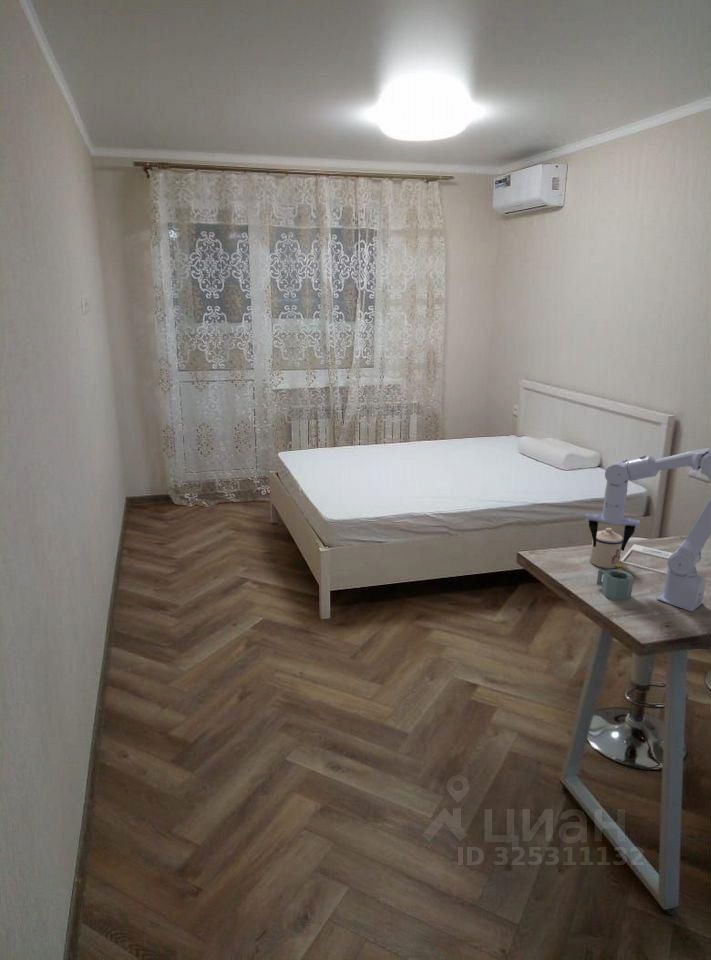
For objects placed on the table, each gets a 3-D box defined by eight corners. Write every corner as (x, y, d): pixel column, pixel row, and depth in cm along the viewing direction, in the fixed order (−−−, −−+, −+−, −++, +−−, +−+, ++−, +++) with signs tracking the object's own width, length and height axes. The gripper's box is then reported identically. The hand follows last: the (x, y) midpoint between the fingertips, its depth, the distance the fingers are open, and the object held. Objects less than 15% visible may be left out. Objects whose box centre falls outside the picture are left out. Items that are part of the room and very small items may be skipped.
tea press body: (634, 595, 181) (637, 575, 179) (622, 602, 176) (625, 583, 174) (602, 583, 187) (605, 565, 185) (590, 591, 182) (593, 571, 181)
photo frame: (681, 554, 208) (670, 573, 194) (680, 557, 208) (669, 576, 194) (634, 543, 216) (619, 560, 202) (633, 546, 216) (619, 563, 202)
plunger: (627, 581, 180) (629, 563, 178) (621, 584, 177) (624, 567, 176) (614, 576, 182) (617, 559, 181) (608, 580, 180) (611, 562, 178)
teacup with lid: (616, 571, 196) (622, 536, 192) (586, 564, 200) (590, 530, 197) (622, 558, 206) (628, 524, 202) (593, 552, 210) (598, 518, 207)
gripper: (641, 502, 185) (634, 546, 189) (588, 496, 190) (582, 539, 193) (642, 510, 178) (635, 555, 182) (587, 503, 183) (581, 547, 187)
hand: (608, 547), depth 187 cm, fingers open, 7 cm apart
